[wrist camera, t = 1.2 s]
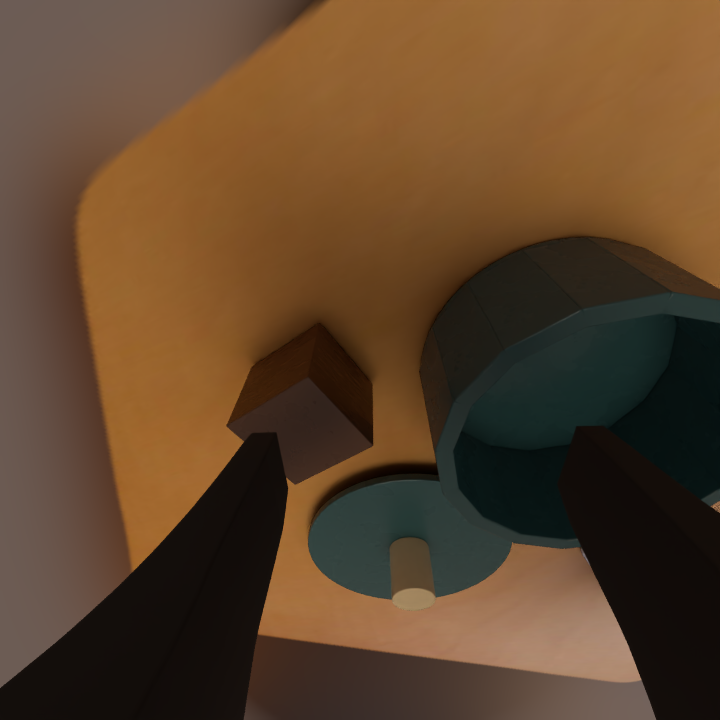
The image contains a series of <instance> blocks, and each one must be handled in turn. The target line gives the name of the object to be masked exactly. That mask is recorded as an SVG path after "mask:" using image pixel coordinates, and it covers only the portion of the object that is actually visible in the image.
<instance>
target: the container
mask: <svg viewBox="0 0 720 720" xmlns="http://www.w3.org/2000/svg"><path fill="white" fill-rule="evenodd" d="M419 372H420V377H421V383H422V388H423V394H424V399H425V405H426V410H427V416H428V421H429V426H430V432H431V437H432V442H433V448H434V453H435V458H436V463H437V469H438V474H439V479H440V485H441V490H442V493H443V495H444V496H445V497H446V498H447V499H448V500H449V502H450V503H451V504H452V505H453V506H454V507H455V508H456V509H457V510H458V512H459V513H460V514H461V515H462V516H463V517H464V518H465V519H466V520H467V521H468V523H469V524H471V525H473V526H475V527H478V528H480V529H482V530H484V531H487V532H489V533H491V534H493V535H496V536H498V537H500V538H503V539H505V540H507V541H509V542H513V543H517V544H525V545H534V546H542V547H551V548H559V549H564V548H565V549H567V548H576V547H581V545H580V543H579V541H578V539H577V537H576V535H575V533H574V531H573V528H572V526H571V524H570V521H569V518H568V515H567V513H566V510H565V507H564V504H563V501H562V498H561V495H560V492H559V488H558V485H557V483H558V480H559V477H560V474H561V471H562V468H563V465H564V462H565V459H566V456H567V453H568V450H569V447H570V444H571V441H572V438H573V435H574V432H575V429H576V426H604V427H605V428H607V429H608V430H609V431H611V432H612V433H614V434H615V435H616V436H618V437H619V438H620V439H622V440H623V441H624V442H626V443H627V444H628V445H629V446H631V447H632V448H633V449H635V450H636V451H637V452H639V453H640V454H641V455H642V456H644V457H645V458H646V459H648V460H649V461H650V462H652V463H653V464H654V465H655V466H657V467H658V468H659V469H661V470H662V471H663V472H665V473H666V474H667V475H669V476H670V477H671V478H673V479H674V480H675V481H676V482H678V483H679V484H680V485H682V486H683V487H684V488H686V489H687V490H688V491H690V492H691V493H692V494H694V495H695V496H697V497H698V498H699V499H701V500H702V501H703V502H705V503H706V504H708V505H709V506H712V505H713V504H715V503H717V502H719V501H720V289H718V288H717V287H715V286H713V285H711V284H709V283H707V282H706V281H704V280H702V279H700V278H698V277H696V276H695V275H693V274H691V273H689V272H687V271H685V270H684V269H682V268H680V267H678V266H676V265H674V264H673V263H671V262H669V261H667V260H665V259H663V258H662V257H660V256H658V255H656V254H654V253H652V252H651V251H649V250H647V249H645V248H643V247H638V246H632V245H629V244H626V243H622V242H618V241H615V240H611V239H603V238H593V237H579V238H565V239H559V240H552V241H548V242H544V243H540V244H537V245H533V246H529V247H527V248H524V249H522V250H519V251H517V252H514V253H512V254H509V255H508V256H506V257H504V258H502V259H500V260H498V261H496V262H494V263H493V264H491V265H490V266H488V267H487V268H485V269H484V270H482V271H481V272H479V273H478V274H476V275H475V276H474V277H473V278H471V279H470V280H469V281H468V282H467V283H466V284H464V285H463V286H462V287H461V288H460V289H459V290H458V291H457V292H456V293H455V294H454V296H453V297H452V298H451V299H450V300H449V301H448V302H447V304H446V305H445V306H444V308H443V309H442V311H441V312H440V313H439V315H438V316H437V318H436V320H435V322H434V324H433V326H432V327H431V329H430V331H429V334H428V337H427V339H426V342H425V345H424V349H423V354H422V359H421V366H420V371H419Z"/></svg>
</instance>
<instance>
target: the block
mask: <svg viewBox="0 0 720 720" xmlns="http://www.w3.org/2000/svg"><path fill="white" fill-rule="evenodd" d="M227 427H228V428H229V429H230V430H231V431H233V432H234V433H235V434H236V435H237V436H238V437H240V438H241V439H242V440H243V441H245V440H246V439H247V437H248V436H249V435H250V434H251V433H263V432H277V437H278V442H279V447H280V451H281V456H282V461H283V466H284V471H285V475H286V477H287V478H288V479H289V480H290V481H291V482H292V483H294V484H298V483H300V482H302V481H304V480H306V479H308V478H310V477H312V476H314V475H316V474H318V473H320V472H322V471H324V470H326V469H328V468H330V467H332V466H334V465H336V464H338V463H340V462H342V461H344V460H346V459H348V458H350V457H352V456H354V455H356V454H358V453H360V452H362V451H364V450H366V449H368V448H370V447H372V446H373V390H372V384H371V382H370V381H369V380H368V379H367V378H366V377H365V375H364V374H363V373H362V372H361V371H360V370H359V368H358V367H357V366H356V365H355V364H354V363H353V361H352V360H351V359H350V358H349V357H348V356H347V354H346V353H345V352H344V351H343V350H342V349H341V347H340V346H339V345H338V344H337V343H336V342H335V340H334V339H333V338H332V337H331V336H330V334H329V333H328V332H327V331H326V330H325V329H324V327H323V326H322V325H321V324H320V323H319V324H317V325H316V326H314V327H312V328H311V329H309V330H308V331H306V332H305V333H303V334H302V335H300V336H299V337H297V338H296V339H294V340H292V341H291V342H289V343H288V344H286V345H285V346H283V347H282V348H280V349H279V350H277V351H276V352H274V353H273V354H271V355H269V356H268V357H266V358H265V359H263V360H262V361H260V362H259V363H257V364H256V365H254V366H253V367H252V368H251V370H250V372H249V375H248V377H247V379H246V382H245V384H244V386H243V389H242V391H241V393H240V396H239V398H238V400H237V403H236V405H235V407H234V410H233V412H232V414H231V416H230V419H229V421H228V423H227Z"/></svg>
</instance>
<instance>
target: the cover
mask: <svg viewBox="0 0 720 720" xmlns="http://www.w3.org/2000/svg"><path fill="white" fill-rule="evenodd" d="M511 545H512V542H509V541H507V540H505V539H503V538H500V537H498V536H496V535H493V534H491V533H489V532H487V531H484V530H482V529H480V528H478V527H475V526H473V525H471V524H469V523H468V521H467V520H466V519H465V518H464V517H463V516H462V515H461V514H460V513H459V512H458V510H457V509H456V508H455V507H454V506H453V505H452V504H451V503H450V502H449V500H448V499H447V498H446V497H445V496H444V495H443V493H442V490H441V485H440V479H439V476H438V475H430V474H397V475H389V476H383V477H378V478H374V479H370V480H367V481H363V482H361V483H358V484H356V485H353V486H351V487H349V488H347V489H345V490H343V491H341V492H339V493H338V494H336V495H335V496H333V497H332V498H331V499H329V500H328V501H327V502H326V503H325V504H324V505H323V506H322V507H321V508H320V509H319V511H318V512H317V513H316V515H315V517H314V519H313V521H312V523H311V526H310V530H309V536H308V547H309V552H310V555H311V557H312V560H313V561H314V563H315V564H316V566H317V567H318V568H319V569H320V571H321V572H322V573H323V574H325V575H326V576H327V577H328V578H329V579H331V580H332V581H334V582H335V583H337V584H339V585H341V586H343V587H345V588H347V589H349V590H352V591H354V592H357V593H361V594H364V595H368V596H372V597H377V598H384V599H392V602H393V604H394V605H395V606H396V607H398V608H400V609H403V610H408V611H418V610H423V609H426V608H429V607H430V606H432V605H433V604H434V603H435V600H436V597H441V596H445V595H449V594H453V593H456V592H459V591H462V590H464V589H467V588H469V587H471V586H474V585H476V584H478V583H479V582H481V581H483V580H484V579H486V578H487V577H489V576H490V575H491V574H493V573H494V572H495V571H496V570H497V569H498V568H499V567H500V566H501V565H502V563H503V562H504V561H505V559H506V558H507V556H508V554H509V552H510V549H511Z"/></svg>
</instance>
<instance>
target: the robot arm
mask: <svg viewBox="0 0 720 720" xmlns="http://www.w3.org/2000/svg"><path fill="white" fill-rule="evenodd" d="M557 485H558V488H559V492H560V495H561V498H562V501H563V504H564V507H565V510H566V513H567V515H568V518H569V521H570V524H571V526H572V528H573V531H574V533H575V535H576V537H577V539H578V541H579V543H580V545H581V547H582V548H581V553H582V555H583V556H584V558H585V559H586V561H587V562H588V563H589V565H590V566H591V568H592V570H593V572H594V574H595V576H596V578H597V580H598V582H599V584H600V586H601V589H602V591H603V593H604V595H605V597H606V599H607V601H608V603H609V605H610V607H611V609H612V611H613V613H614V615H615V617H616V619H617V621H618V623H619V626H620V628H621V630H622V632H623V635H624V637H625V639H626V641H627V644H628V646H629V648H630V651H631V653H632V656H633V659H634V661H635V664H636V666H637V669H638V672H639V674H640V677H641V679H642V682H643V685H644V687H645V690H646V692H647V695H648V698H649V700H650V703H651V706H652V709H653V712H654V714H655V717H656V720H720V513H719V512H717V511H716V510H714V509H713V508H712V507H710V506H709V505H708V504H706V503H705V502H703V501H702V500H701V499H699V498H698V497H697V496H695V495H694V494H692V493H691V492H690V491H688V490H687V489H686V488H684V487H683V486H682V485H680V484H679V483H678V482H676V481H675V480H674V479H673V478H671V477H670V476H669V475H667V474H666V473H665V472H663V471H662V470H661V469H659V468H658V467H657V466H655V465H654V464H653V463H652V462H650V461H649V460H648V459H646V458H645V457H644V456H642V455H641V454H640V453H639V452H637V451H636V450H635V449H633V448H632V447H631V446H629V445H628V444H627V443H626V442H624V441H623V440H622V439H620V438H619V437H618V436H616V435H615V434H614V433H612V432H611V431H609V430H608V429H607V428H605V427H604V426H576V429H575V432H574V435H573V438H572V441H571V444H570V447H569V450H568V453H567V456H566V459H565V462H564V465H563V468H562V471H561V474H560V477H559V480H558V483H557ZM287 494H288V485H287V480H286V475H285V471H284V466H283V461H282V456H281V451H280V447H279V442H278V437H277V432H263V433H251V434H250V435H249V436H248V437H247V439H246V440H245V441H244V443H243V444H242V445H241V447H240V448H239V449H238V451H237V452H236V453H235V455H234V456H233V457H232V459H231V460H230V461H229V463H228V464H227V465H226V467H225V468H224V469H223V470H222V472H221V473H220V474H219V476H218V477H217V478H216V479H215V481H214V482H213V483H212V484H211V486H210V487H209V488H208V489H207V490H206V492H205V493H204V494H203V495H202V497H201V498H200V499H199V500H198V501H197V503H196V504H195V505H194V506H193V507H192V509H191V510H190V511H189V512H188V513H187V514H186V516H185V517H184V518H183V519H182V520H181V521H180V522H179V523H178V525H177V526H176V527H175V528H174V529H173V530H172V531H171V532H170V533H169V535H168V536H167V537H166V538H165V539H164V540H163V541H162V542H161V543H160V545H159V546H158V547H157V548H156V549H155V550H154V551H153V552H152V553H151V554H150V555H149V556H148V557H147V558H146V559H145V560H144V561H143V562H142V563H141V564H140V565H139V566H138V567H137V568H136V569H135V570H134V571H133V572H132V573H131V574H130V575H129V576H128V577H127V578H126V579H125V580H124V581H123V582H122V583H121V584H120V585H119V586H118V587H117V588H116V589H115V590H114V591H113V592H112V593H111V594H110V595H108V596H107V597H106V598H105V599H104V600H103V601H102V602H101V603H100V604H99V605H98V606H96V607H95V608H94V609H93V610H92V611H91V612H90V613H89V614H88V615H87V616H86V617H84V618H83V619H82V620H81V621H80V622H79V623H78V624H77V625H76V626H75V627H73V628H72V629H71V630H70V631H69V632H67V634H65V635H64V636H63V637H62V638H61V639H59V640H58V641H57V642H56V643H55V644H53V645H52V646H51V647H50V648H49V649H47V650H46V651H45V652H44V653H43V654H41V655H40V656H39V657H38V658H37V659H35V660H34V661H33V662H32V663H30V664H29V665H28V666H27V667H25V668H24V669H23V670H22V671H21V672H19V673H18V674H17V675H16V676H14V677H13V678H12V679H11V680H10V681H8V682H7V683H6V684H5V685H3V686H2V687H1V688H0V720H243V719H244V713H245V707H246V700H247V693H248V687H249V680H250V673H251V667H252V662H253V655H254V649H255V644H256V639H257V634H258V629H259V625H260V620H261V616H262V612H263V608H264V604H265V600H266V596H267V592H268V588H269V584H270V580H271V576H272V572H273V568H274V564H275V560H276V556H277V551H278V547H279V543H280V539H281V535H282V531H283V525H284V518H285V510H286V502H287Z"/></svg>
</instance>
